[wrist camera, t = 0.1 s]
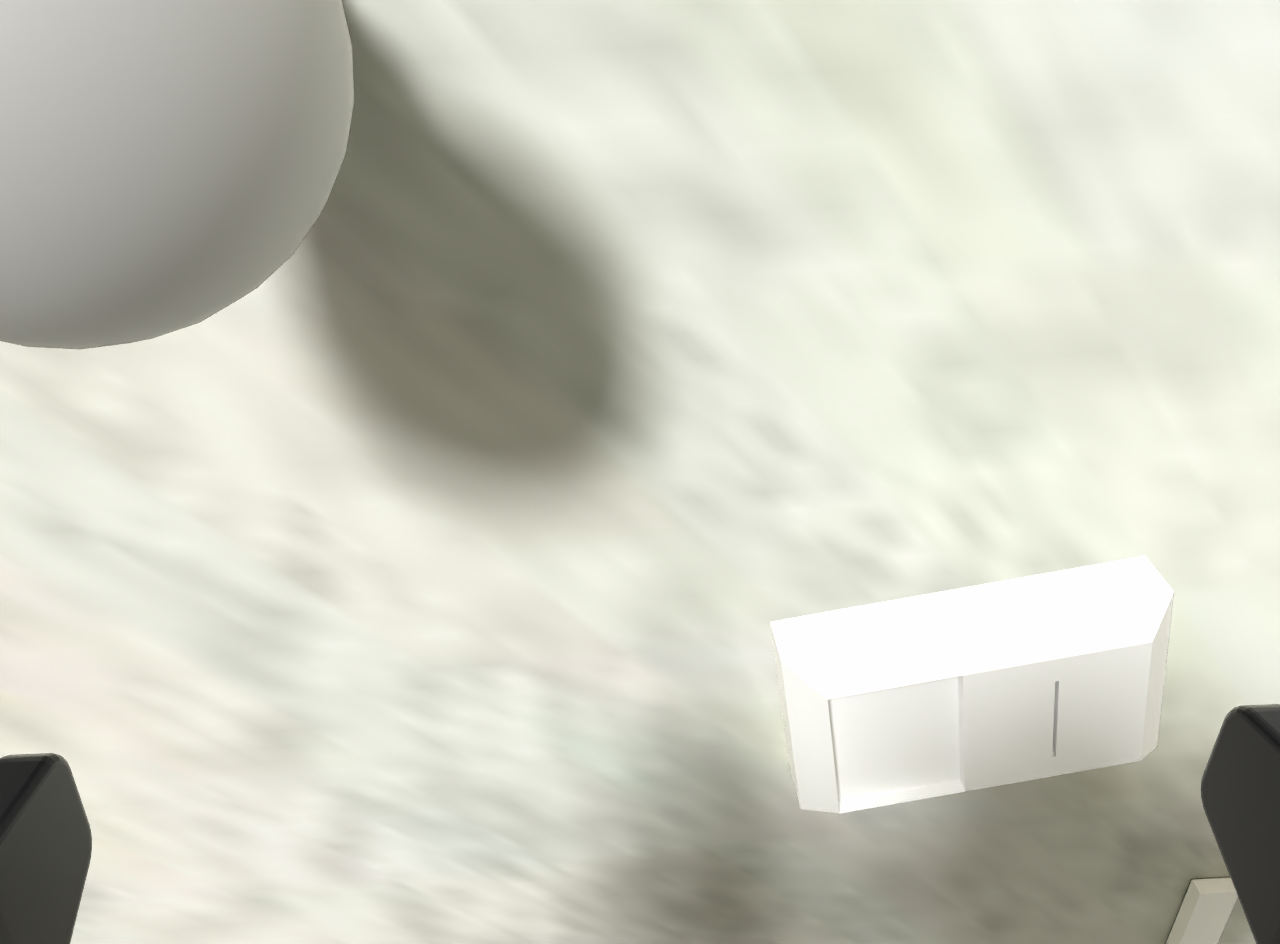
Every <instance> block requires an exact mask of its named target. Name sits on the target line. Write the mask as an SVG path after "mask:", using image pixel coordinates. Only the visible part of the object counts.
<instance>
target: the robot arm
mask: <svg viewBox="0 0 1280 944" xmlns="http://www.w3.org/2000/svg"><path fill="white" fill-rule="evenodd" d="M1201 797H1202V802H1203V807H1204V810H1205V813H1206V816H1207V818H1208V821H1209V823H1210V826H1211V828H1212V831H1213V834H1214V836H1215V839H1216V841H1217V844H1218V846H1219V849H1220V852H1221V854H1222V857H1223V859H1224V862H1225V864H1226V867H1227V869H1228V872H1229V875H1230V877H1231V880H1232V882H1233V885H1234V887H1235V890H1236V892H1237V895H1238V898H1239V900H1240V903H1241V905H1242V908H1243V910H1244V913H1245V915H1246V918H1247V921H1248V923H1249V926H1250V928H1251V931H1252V933H1253V936H1254V938H1255V941H1256V944H1280V705H1279V704H1272V705H1246V706H1239V707H1235V708H1234V709H1232V710H1231V711H1230V712H1229V713H1228V714H1227V715H1226V717H1225V719H1224V721H1223V724H1222V727H1221V729H1220V732H1219V734H1218V737H1217V740H1216V742H1215V745H1214V747H1213V750H1212V753H1211V755H1210V758H1209V761H1208V763H1207V766H1206V768H1205V771H1204V774H1203V777H1202V783H1201ZM91 851H92V836H91V829H90V825H89V822H88V819H87V816H86V813H85V810H84V807H83V804H82V801H81V799H80V796H79V793H78V790H77V787H76V784H75V781H74V778H73V775H72V772H71V769H70V767H69V765H68V763H67V761H66V760H65V759H64V758H63V757H62V756H60V755H57V754H53V753H45V754H21V755H9V756H4V757H2V758H0V944H70V942H71V938H72V934H73V929H74V925H75V921H76V917H77V913H78V909H79V905H80V901H81V897H82V893H83V889H84V884H85V880H86V876H87V872H88V868H89V864H90V859H91Z"/></svg>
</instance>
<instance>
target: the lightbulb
mask: <svg viewBox="0 0 1280 944" xmlns="http://www.w3.org/2000/svg"><path fill="white" fill-rule="evenodd" d="M353 106H354V85H353V58H352V44H351V39H350V35H349V30H348V26H347V22H346V17H345V13H344V9H343V4H342V0H0V341H3V342H8V343H13V344H17V345H22V346H27V347H44V348H65V349H86V348H94V347H102V346H110V345H118V344H125V343H132V342H137V341H142V340H147V339H152V338H155V337H158V336H161V335H164V334H167V333H170V332H173V331H176V330H179V329H182V328H185V327H188V326H191V325H194V324H197V323H199V322H201V321H203V320H205V319H206V318H208V317H210V316H211V315H213V314H215V313H217V312H218V311H220V310H222V309H223V308H225V307H227V306H229V305H230V304H232V303H234V302H235V301H237V300H239V299H240V298H242V297H244V296H245V295H247V294H248V293H250V292H251V291H253V290H254V289H256V288H258V287H259V286H260V285H261V284H262V283H263V282H264V281H265V280H266V279H267V278H268V277H269V276H271V275H272V274H273V273H274V272H275V271H276V270H277V269H278V268H279V267H280V266H281V265H282V264H283V263H284V262H286V261H287V260H288V259H289V258H290V257H291V256H292V255H293V254H294V252H295V251H296V249H297V248H298V246H299V245H300V243H301V242H302V240H303V239H304V237H305V236H306V234H307V233H308V232H309V230H310V229H311V227H312V226H313V224H314V223H315V221H316V220H317V218H318V217H319V215H320V214H321V212H322V210H323V208H324V206H325V204H326V202H327V200H328V198H329V195H330V192H331V190H332V187H333V185H334V182H335V180H336V177H337V175H338V172H339V170H340V167H341V164H342V162H343V159H344V157H345V154H346V149H347V143H348V137H349V131H350V124H351V118H352V112H353Z"/></svg>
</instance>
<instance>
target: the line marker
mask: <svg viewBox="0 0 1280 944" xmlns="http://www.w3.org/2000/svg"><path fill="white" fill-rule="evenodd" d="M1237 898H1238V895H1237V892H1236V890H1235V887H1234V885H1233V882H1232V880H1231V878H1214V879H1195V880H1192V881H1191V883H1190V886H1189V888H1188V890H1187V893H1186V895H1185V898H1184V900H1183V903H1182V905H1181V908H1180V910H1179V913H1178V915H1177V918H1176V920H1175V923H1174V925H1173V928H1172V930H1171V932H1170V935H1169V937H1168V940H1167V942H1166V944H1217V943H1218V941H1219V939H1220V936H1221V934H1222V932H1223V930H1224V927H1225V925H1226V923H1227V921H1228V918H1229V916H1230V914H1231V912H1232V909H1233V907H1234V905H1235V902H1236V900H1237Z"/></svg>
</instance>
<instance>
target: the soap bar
mask: <svg viewBox="0 0 1280 944" xmlns="http://www.w3.org/2000/svg"><path fill="white" fill-rule="evenodd" d="M1173 597H1174V591H1173V590H1172V588H1171V587H1170V586H1169V585H1168V583H1167V582H1166V581H1165V580H1164V578H1163V577H1162V576H1161V574H1160V573H1159V572H1158V571H1157V569H1156V568H1155V567H1154V566H1153V564H1152V563H1151V562H1150V560H1149V559H1148V558H1147V557H1146V555H1145V556H1139V557H1134V558H1128V559H1122V560H1117V561H1111V562H1105V563H1100V564H1094V565H1088V566H1083V567H1077V568H1071V569H1066V570H1060V571H1054V572H1049V573H1043V574H1037V575H1032V576H1026V577H1020V578H1015V579H1009V580H1003V581H998V582H992V583H986V584H981V585H975V586H969V587H964V588H958V589H952V590H947V591H941V592H935V593H930V594H924V595H918V596H913V597H907V598H901V599H896V600H890V601H884V602H879V603H873V604H867V605H862V606H856V607H850V608H845V609H839V610H833V611H828V612H822V613H816V614H811V615H805V616H799V617H794V618H788V619H783V620H777V621H771V622H770V625H771V632H772V640H773V647H774V655H775V662H776V670H777V677H778V685H779V692H780V700H781V707H782V715H783V722H784V730H785V737H786V744H787V752H788V759H789V767H790V771H791V775H792V779H793V782H794V786H795V790H796V794H797V798H798V802H799V806H800V809H805V810H813V811H822V812H830V813H838V814H840V813H846V812H852V811H857V810H863V809H869V808H875V807H880V806H886V805H892V804H898V803H903V802H909V801H915V800H920V799H926V798H932V797H938V796H943V795H949V794H955V793H961V792H966V791H972V790H978V789H983V788H989V787H995V786H1001V785H1006V784H1012V783H1018V782H1024V781H1029V780H1035V779H1041V778H1046V777H1052V776H1058V775H1064V774H1069V773H1075V772H1081V771H1087V770H1092V769H1098V768H1104V767H1109V766H1115V765H1121V764H1127V763H1132V762H1138V761H1141V760H1142V759H1144V758H1145V757H1146V756H1147V755H1148V754H1149V753H1150V752H1152V751H1153V750H1154V749H1155V748H1156V747H1157V744H1158V735H1159V726H1160V717H1161V707H1162V698H1163V689H1164V680H1165V671H1166V662H1167V652H1168V643H1169V634H1170V625H1171V616H1172V607H1173Z"/></svg>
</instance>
